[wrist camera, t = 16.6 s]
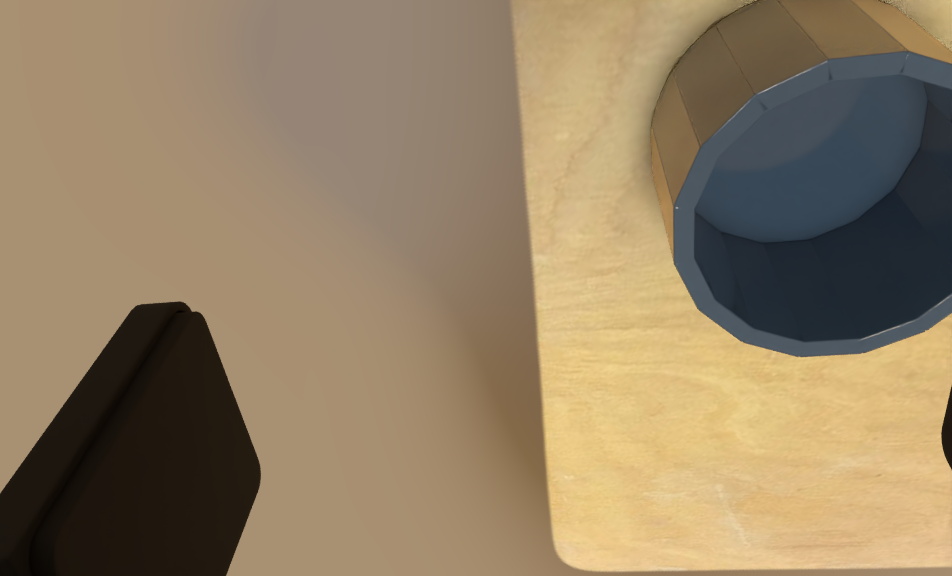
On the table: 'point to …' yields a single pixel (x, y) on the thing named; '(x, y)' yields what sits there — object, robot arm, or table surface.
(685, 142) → the bowl
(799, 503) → the table surface
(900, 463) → the table surface
